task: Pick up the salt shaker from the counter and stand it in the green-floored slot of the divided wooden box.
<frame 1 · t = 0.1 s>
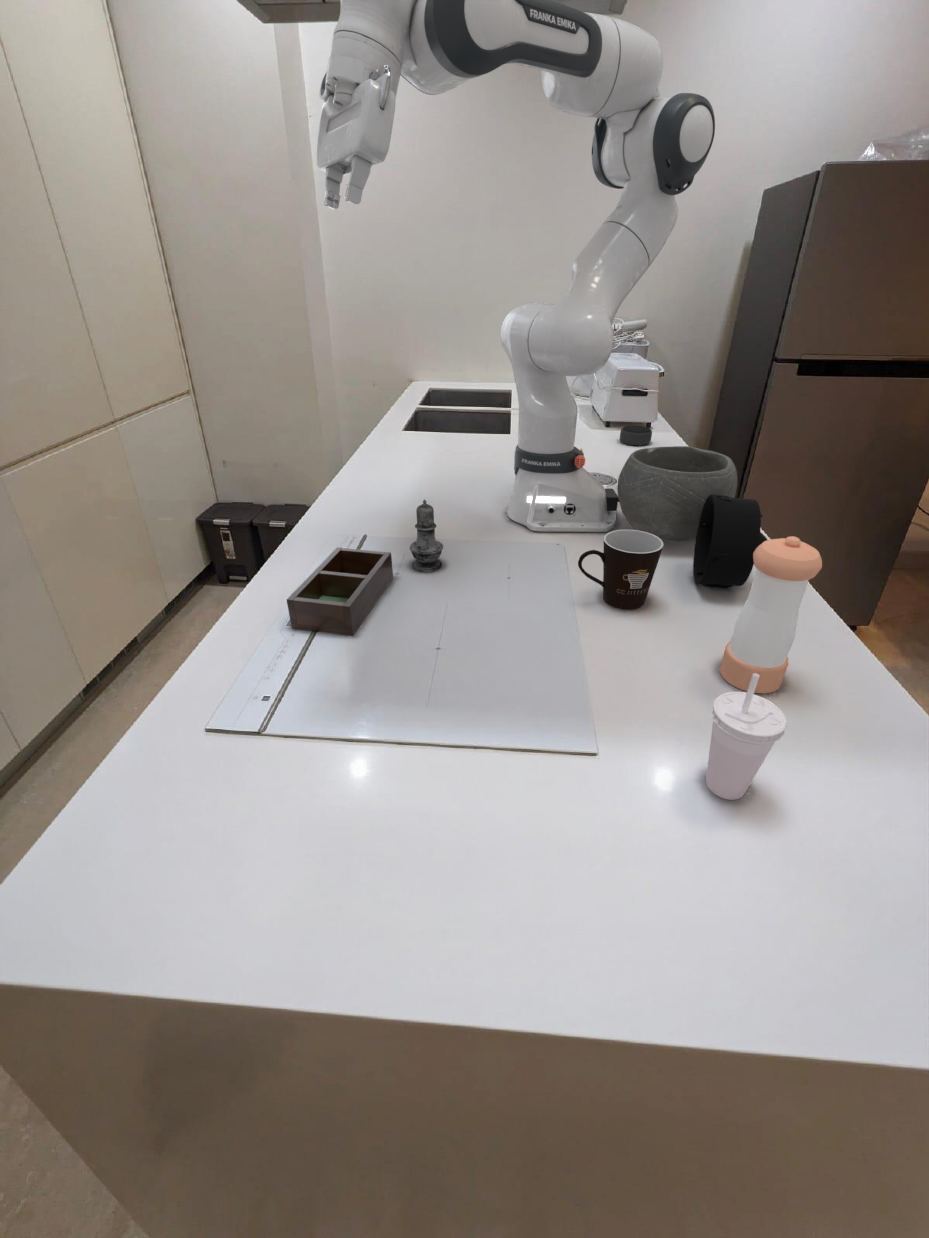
hand: (340, 205, 80), 52 cm above the counter, tool tilted 20°, fingers open, 8 cm apart
smart speaker: (634, 443, 170), on the counter
divided wooden box: (346, 601, 91), on the counter
coffee mug: (613, 599, 92), on the counter
bowl: (666, 535, 113), on the counter
black cylinder: (725, 584, 96), on the counter
pepper shaker: (749, 677, 74), on the counter
smoothie: (724, 786, 59), on the counter
salt shaker: (427, 566, 102), on the counter
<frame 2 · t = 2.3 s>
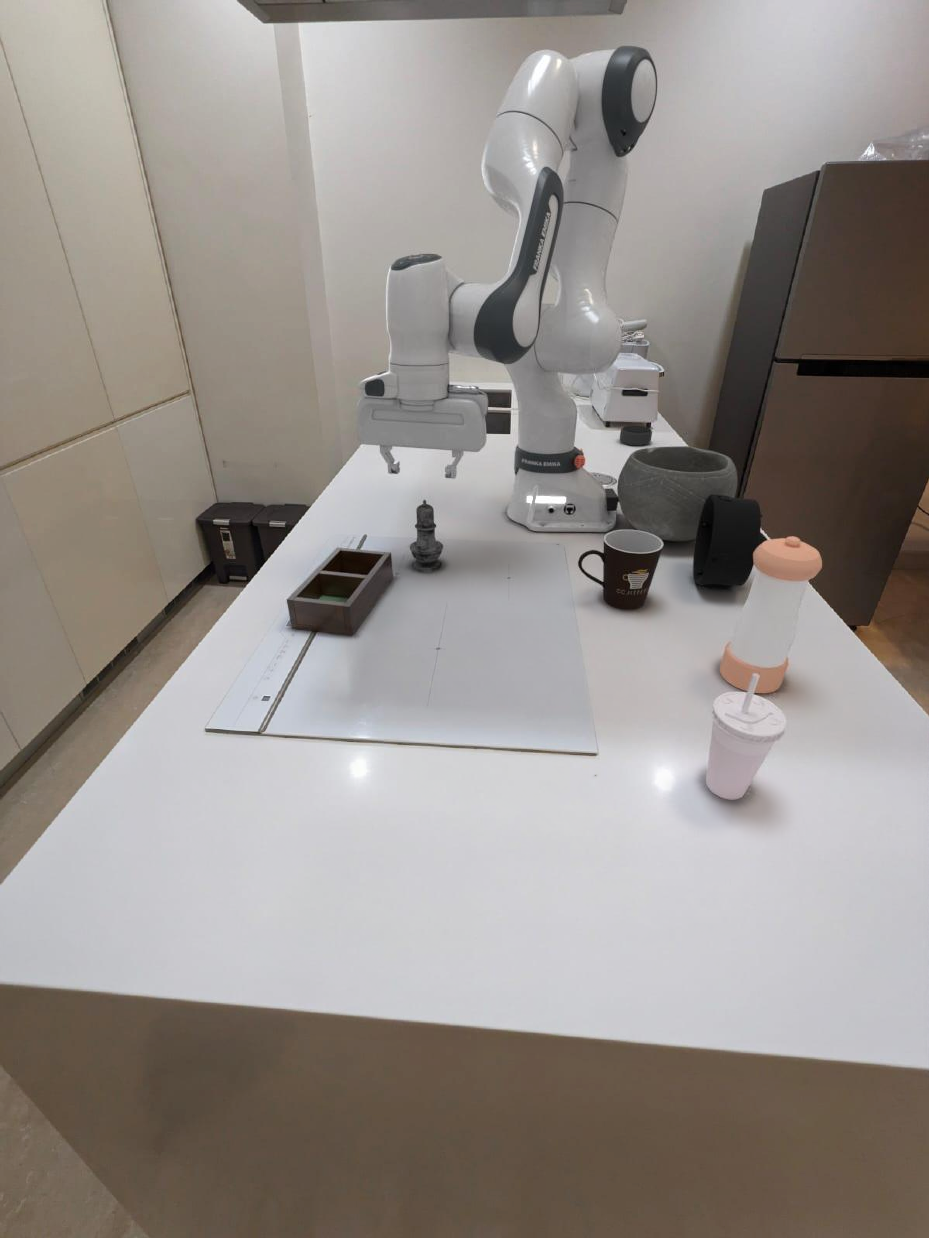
hand: (422, 475, 93), 16 cm above the counter, tool pointing down, fingers open, 8 cm apart
nothing on the counter moved.
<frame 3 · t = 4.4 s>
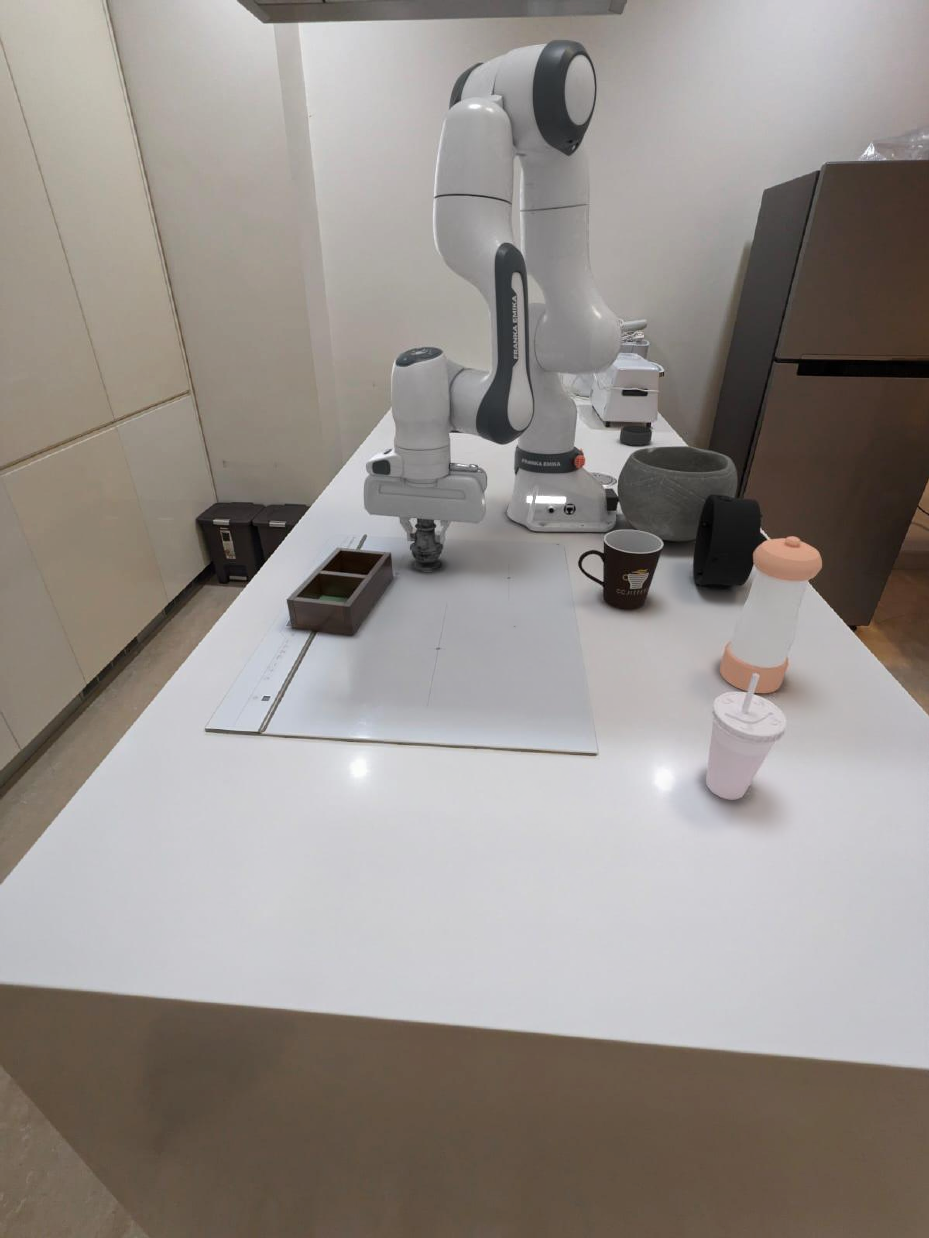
hand: (426, 541, 99), 5 cm above the counter, tool pointing down, fingers closed on salt shaker, 3 cm apart
salt shaker: (427, 566, 102), on the counter, touching gripper
everything else where it was.
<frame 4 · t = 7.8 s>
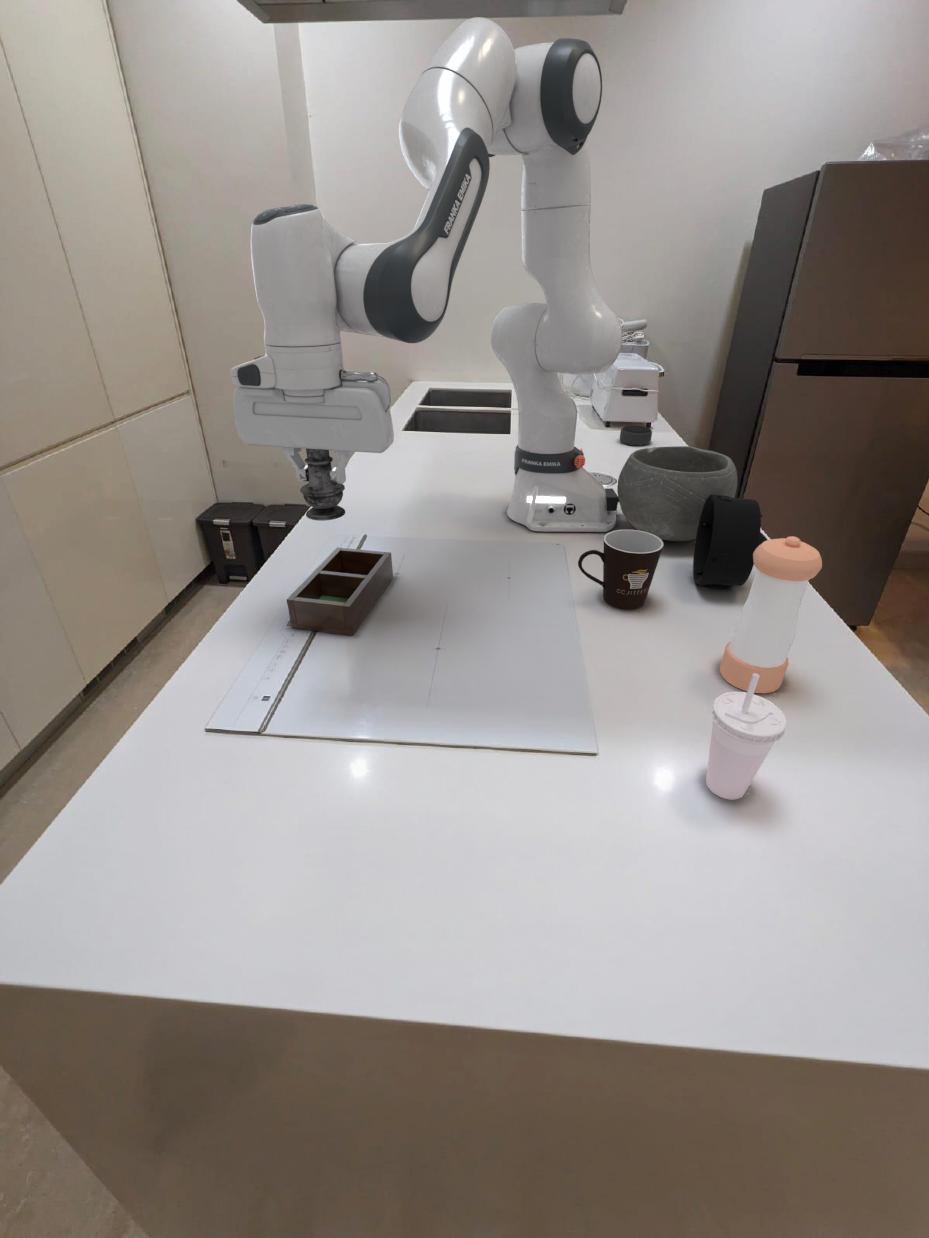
hand: (321, 481, 77), 20 cm above the counter, tool pointing down, fingers closed on salt shaker, 3 cm apart
salt shaker: (326, 514, 79), point 16 cm above the counter, touching gripper
everything else where it was.
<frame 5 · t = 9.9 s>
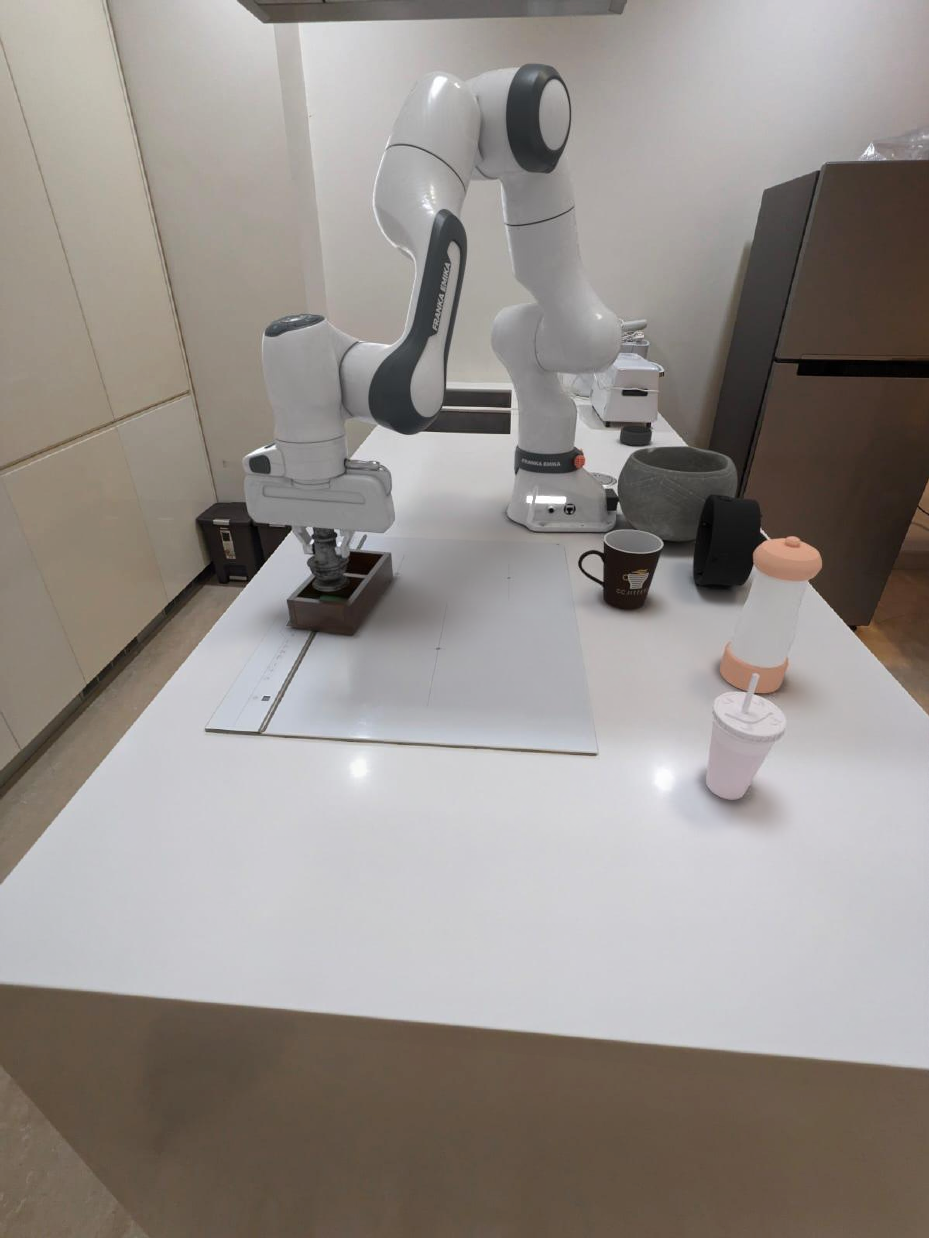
hand: (327, 554, 82), 10 cm above the counter, tool pointing down, fingers closed on salt shaker, 3 cm apart
salt shaker: (331, 583, 84), point 5 cm above the counter, touching gripper
everything else where it was.
when the fingers open (5 cm above the counter, at t = 11.6 s): salt shaker stays where it is, resting on divided wooden box.
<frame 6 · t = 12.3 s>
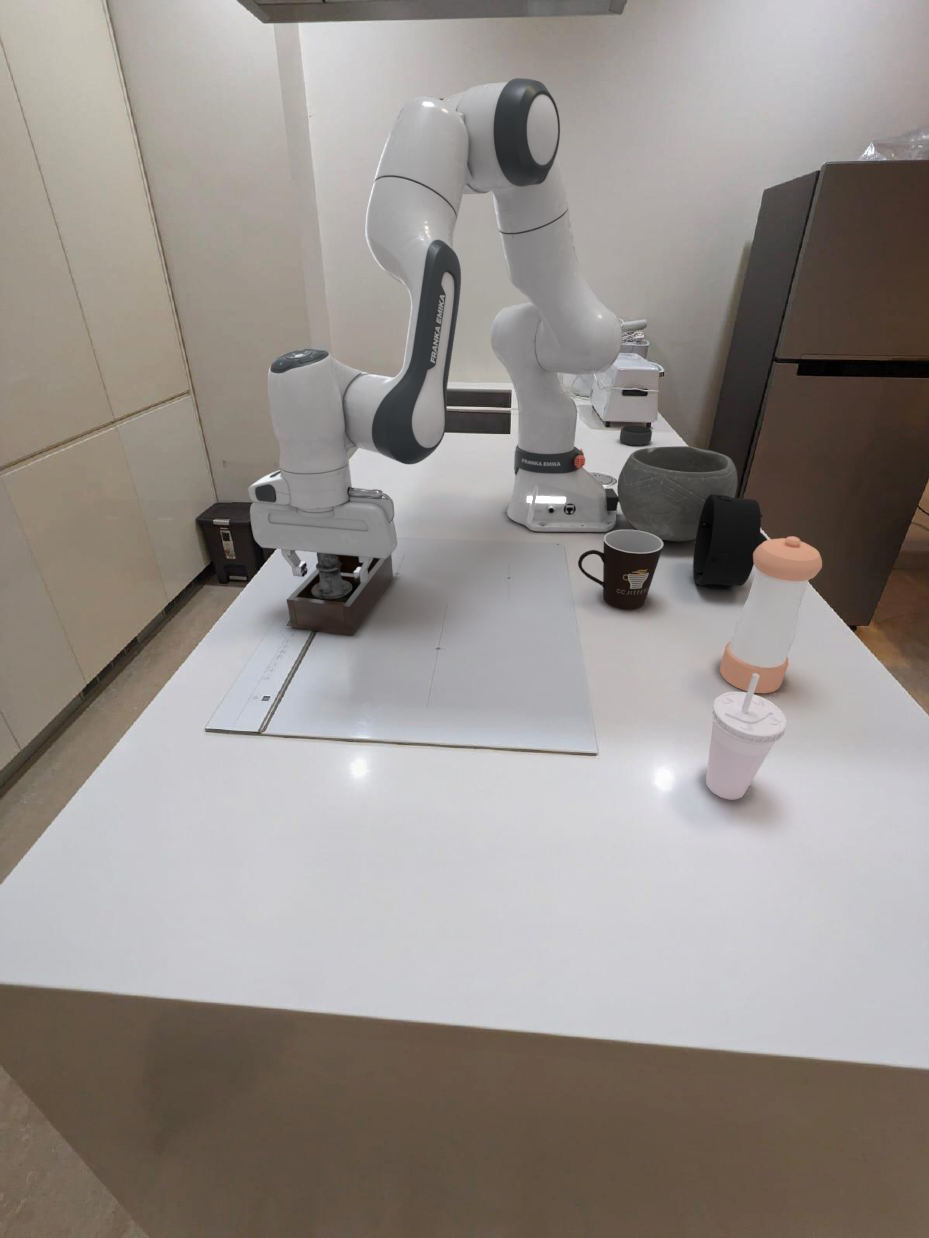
hand: (330, 578, 84), 6 cm above the counter, tool pointing down, fingers open, 8 cm apart
salt shaker: (335, 610, 87), point 1 cm above the counter, touching divided wooden box
everything else where it was.
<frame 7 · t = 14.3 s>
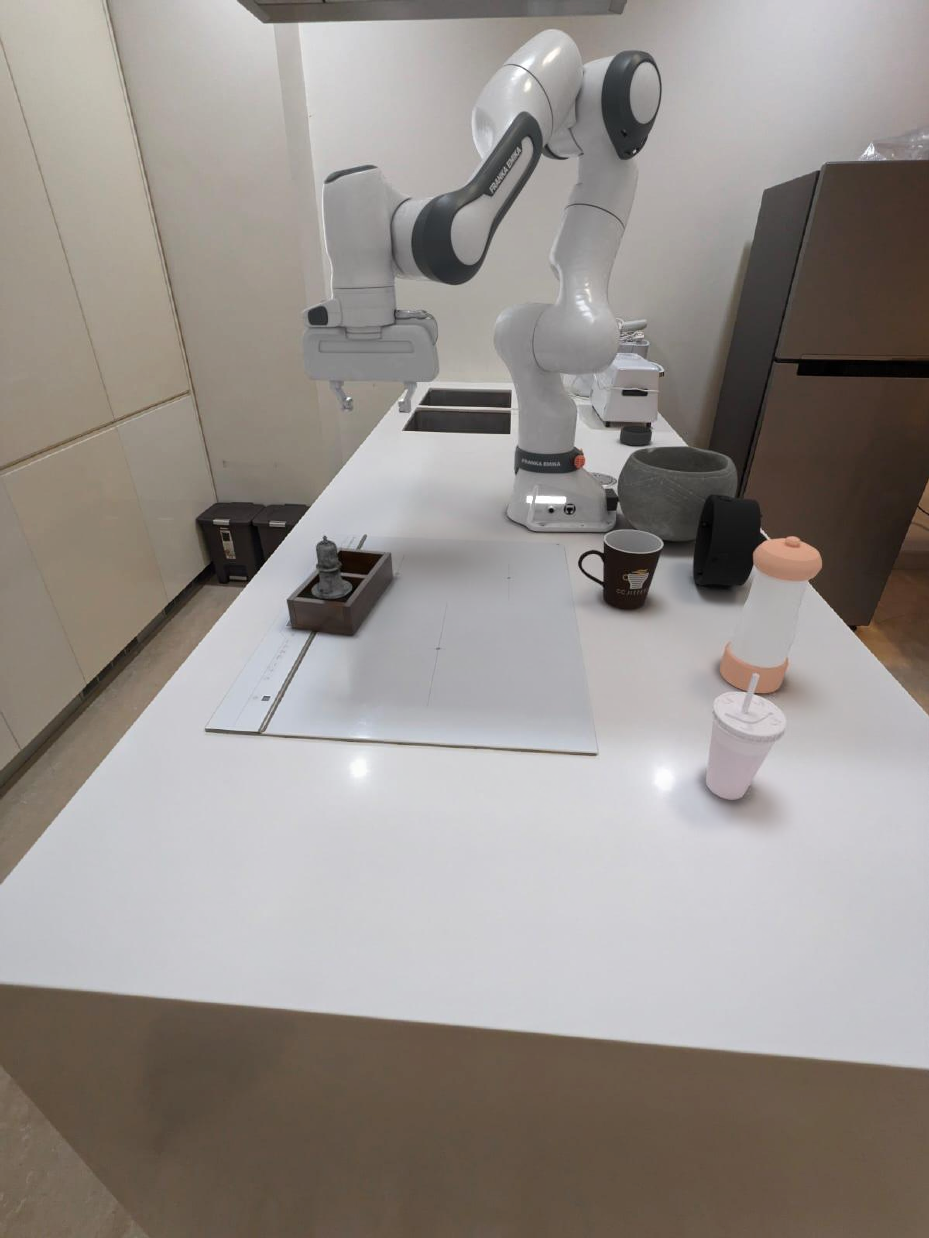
hand: (376, 411, 89), 26 cm above the counter, tool pointing down, fingers open, 8 cm apart
nothing on the counter moved.
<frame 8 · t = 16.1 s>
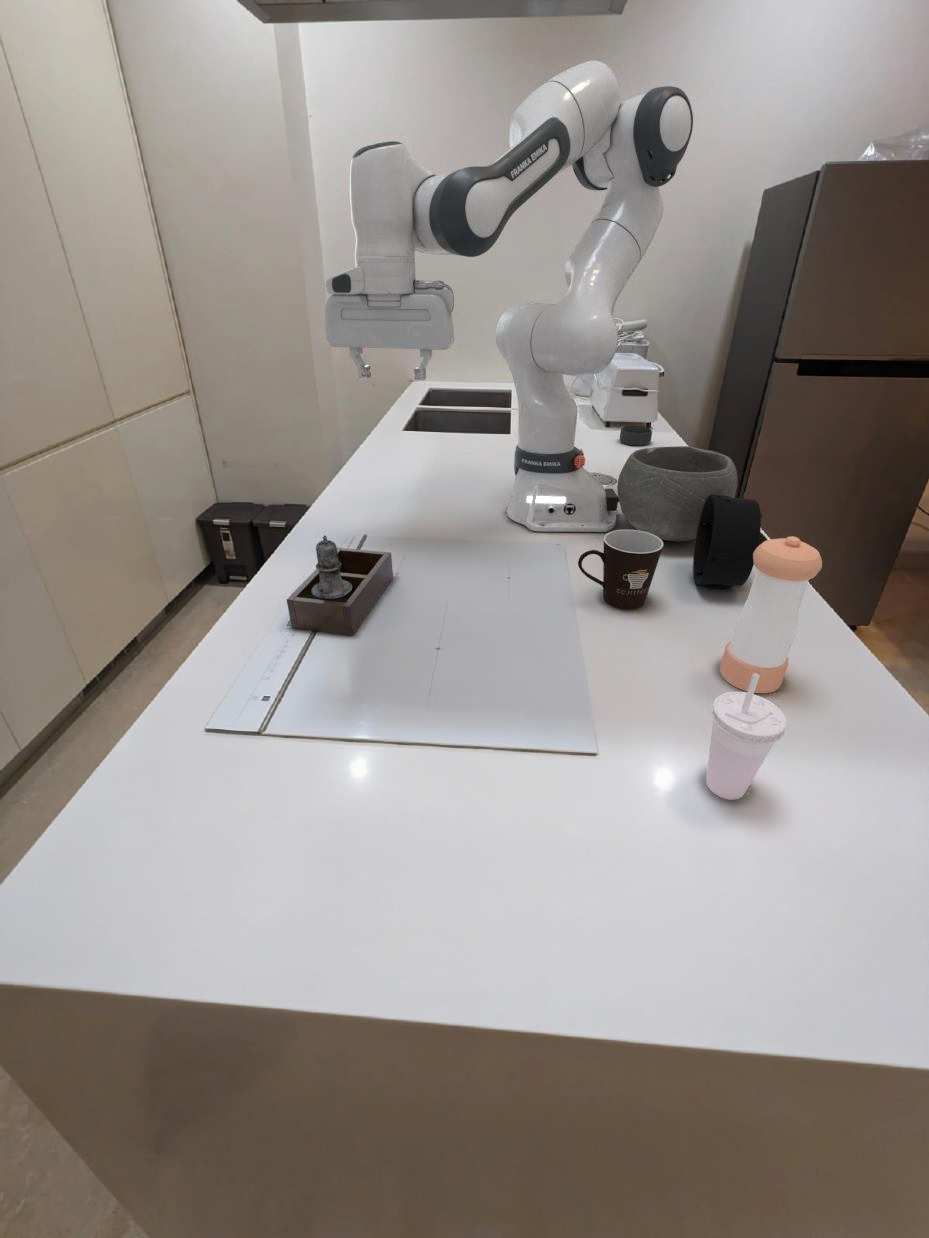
hand: (392, 378, 94), 29 cm above the counter, tool pointing down, fingers open, 8 cm apart
nothing on the counter moved.
at the end: salt shaker 0.1 cm from the target spot in the divided wooden box, point 0.8 cm above the divided wooden box's base; salt shaker tilted 0°; the gripper is holding nothing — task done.
